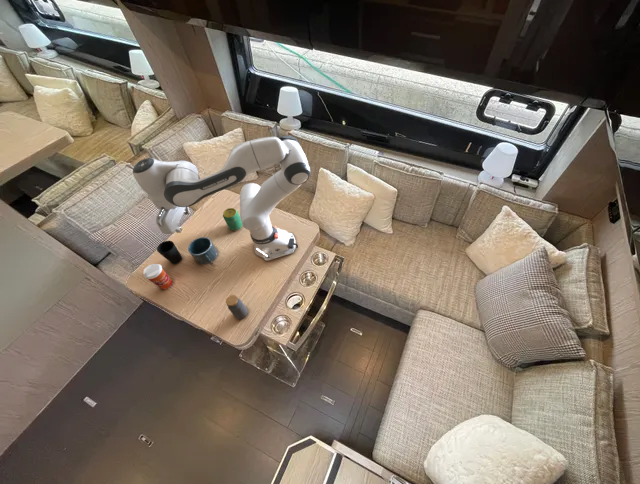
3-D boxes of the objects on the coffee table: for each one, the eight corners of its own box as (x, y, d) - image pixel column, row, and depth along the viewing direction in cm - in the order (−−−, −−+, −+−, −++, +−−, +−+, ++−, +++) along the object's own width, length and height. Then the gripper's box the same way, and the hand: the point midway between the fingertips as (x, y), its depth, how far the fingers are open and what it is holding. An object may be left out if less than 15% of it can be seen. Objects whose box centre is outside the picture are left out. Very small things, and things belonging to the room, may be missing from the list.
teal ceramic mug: (192, 254, 148) (184, 244, 141) (212, 243, 153) (206, 233, 146) (203, 272, 142) (196, 263, 135) (224, 260, 147) (218, 251, 140)
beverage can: (244, 220, 165) (238, 206, 155) (242, 230, 160) (236, 217, 150) (230, 221, 164) (223, 207, 155) (227, 231, 159) (220, 218, 150)
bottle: (245, 319, 127) (236, 306, 116) (233, 319, 127) (222, 306, 116) (249, 307, 131) (240, 293, 119) (236, 307, 131) (226, 293, 119)
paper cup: (164, 294, 133) (148, 280, 123) (154, 286, 136) (138, 272, 125) (178, 281, 138) (164, 267, 127) (168, 274, 140) (154, 259, 130)
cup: (178, 267, 143) (167, 254, 134) (165, 264, 144) (153, 251, 135) (187, 254, 148) (177, 242, 139) (174, 252, 149) (163, 239, 140)
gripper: (164, 220, 95) (183, 242, 105) (185, 179, 108) (199, 203, 118) (145, 220, 94) (166, 243, 105) (168, 180, 107) (184, 204, 118)
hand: (183, 222), depth 112 cm, fingers open, 8 cm apart
